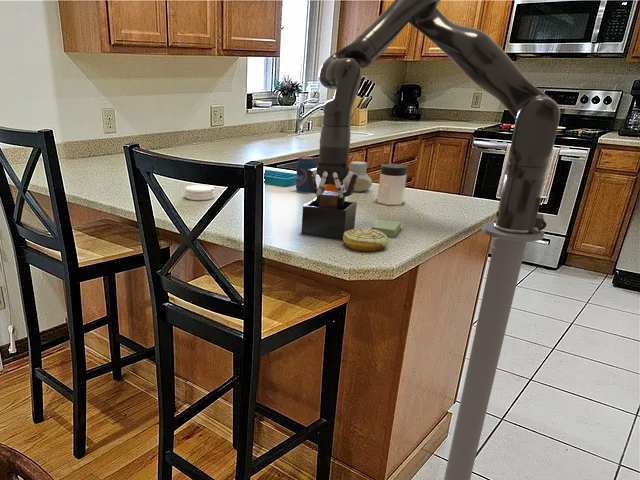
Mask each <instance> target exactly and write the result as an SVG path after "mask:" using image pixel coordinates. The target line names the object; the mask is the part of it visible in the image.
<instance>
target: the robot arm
mask: <svg viewBox="0 0 640 480" xmlns="http://www.w3.org/2000/svg"><path fill="white" fill-rule="evenodd" d="M440 2H441V0H394V1H392V2H391V3H390V5H389V6H388V7H387V8H385V10H384V11H383V12H382V13H381V14H380V15H379V16H378V17H376V19H375V20H374V21H373V22H371V24H370V25H368V26H367V28H365V29H364V30H363V31H362V32H361V33H360V34H359V35H358V36H356V38H354V40H353V41H352V42H351V43H349V44H347V45H346V46H344V47H342V48H340V49H339V50H338V51H336V52H334V53H332V54H331V55H330V56H329V57H328V58H326V59H325V60H324V61H323V63H322V65H321V66H320V68H319V72H318V79H319V82H320V84H321V85H322V86H323V87H324V88H326V89H328V90H335V93H334V96H333V99H330V100H327V101H326V102H325V103H324V105H323V108H322V120H321V121H322V123H321V129H320V130H321V131H320V137H319V154H318V164H317V166H316V169H310V170H308V171H307V177H308V182H309V187H310V192H311V193H312V194H315V195H316V198H317V204H316V206H317V207H319V204H320V194H321V193H323V192H324V190H325V187H326V186H327V184H332V185H336V189H337V191H338V195H339V198H338V207H337V209H340V210H342V209H343V208H344V203H345V201H346V197H350V196H351V195H353V193H354V192H353V190H354V188H355V185H356V183H357V180H358V177H359V173H353V172H351V171H350V167H349V157H350V147H351V146H350V145H351V125H352V123H351V122H352V110H353V107H354V104H355V101H356V98H357V95H358V92H359V89H360V85H361V83H362V76H363V75H362V73H363V72H362V69H365V68H368V67H369V66H371V65H372V64H373V63H374V62H375V61H376V60H377V59H378V58H379V57H380V56H382V54H383V53H385V52H386V51H387V49H389V47H390V46H391V45H392V44H393V42H394V41H395V40H396V38H397V37H398V36H399V35H400V34H401V32H402V31H403V30H404V28H405V27H406V26H407V25H408V24H409V25H411V26H412V27H414V28H415V29H416V30H417V31H419V32H420V33H421V34H423V36H425V37H426V38H428V39H429V40H430V41H431V42H432V43H433V44H434V45H435V46H437V47H438V49H440V50H441V52H443V53H444V54H445V55H446V56H447V57H448V58H449V59H450V60H451V61H452V62H453V63H454V64H455V65H456V66H457V67H458V68H459V70H461V71H462V72H463V74H465V76H466V77H467V78H469V79H470V80H471V81H472V82H473V83H475V84H476V85H477V86H478V87H479V88H480V89H482V90H484V91H485V92H487V93H488V94H489V95H491V96H492V97H494V98H495V99H497V100H498V102H500V103H501V104H502V105H503V106H504V107H505V108H506V109H507V111H509V113H510V114H511V116H513V118H514V119H515V123H514V127H513V132H512V136H511V137H512V138H511V143H510V148H509V153H508V160H507V165H506V169H505V174H504V179H503V182H502V183H503V184H502V188H501V193H500V198H499V203H498V207H497V211H496V214H495V221H494V222H495V224H494V228H495V229H497V230H499V231H502V232H506V233H512V234H533V230H534V228H538V230H539V231H540V230H542V231H543V230H544V229H546V227H547V222H546V221H545V218H544V214H543V213H539V209H540V206H541V205H540V204H541V200H542V193H543V188H544V185H545V180H546V176H547V172H548V168H549V164H550V161H551V156H552V152H553V148H554V144H555V141H556V137H557V133H558V128H559V124H560V119H561V108H560V106H559V104H558V102H556V101H555V99H553V98H551V97H549V95H547V94H546V93H544V92H543V91H541V90H540V89H539V88H538V87H537V86H535V85H534V84H533V83H532V82H530V81H529V80H528V79H527V78H526V77H525V76H524V74H523V73H522V72H521V70H520V69H519V68H518V67H517V66H516V64H515V62H514V61H513V60H512V59H511V58H510V56H509V55H508V54H507V53H506V52H505V51H504V49H503V48H502V47H501V46H500V45H499V44H498V43H497V42H496V41H495V40H494V39H493V38H491V36H490V35H488V34H487V33H486V32H485V31H483V30H480V29H478V28H474V27H472V26H471V27H470V26H466V25H461V24H458V23H455V22H453V21H452V20H450V19H448V18H447V17H446V16H445V15H444V14H443V13H442V12H441V11H440V9H438V5H439V4H440ZM347 175H348V176H349V181H350V183H349V186H348V189H345V188H344V181H343V180H344V179H345V177H346V176H347ZM317 176H319V178H320V182H319V184H317V179H315V177H316V178H317Z"/></svg>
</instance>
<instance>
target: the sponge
mask: <svg viewBox="0 0 640 480" xmlns="http://www.w3.org/2000/svg"><path fill="white" fill-rule="evenodd" d="M401 227H402V221H397V220H390V219H381V218H380V219H378V220H377V222H376V223H374V225H372V227H371V229H373V230H378V231H381V232H382V233H384V234H385V235H386V236H387V238H388V237H389V238H395V237H396V235H397V234H398V233H399V231H400V230H401Z"/></svg>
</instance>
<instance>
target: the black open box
mask: <svg viewBox="0 0 640 480" xmlns="http://www.w3.org/2000/svg"><path fill="white" fill-rule="evenodd" d="M357 203H358V202H357V201H349V200H345V203H344V208H343V209H342V210H340V209H331V208H323V207H317V206H316V204H317V197H314V198H313V199H312V200H310V201H308V202H306V203H304V205H302V216H301V236H309V237H316V238H324V239H331V240H332V239H333V240H337V241H344V240H343V235H344V233H345V232H346V231H348V230H351V229H355V225H356V214H357V205H358V204H357Z"/></svg>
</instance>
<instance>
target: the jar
mask: <svg viewBox="0 0 640 480" xmlns="http://www.w3.org/2000/svg"><path fill="white" fill-rule="evenodd" d="M407 177H408V166H407V164H401V163H383V164H381V168H380V174H379V183H378V191H377V203H379V204H382V205H386V206H401V205H402V204H403V203H404V200H405V194H406V193H405V191H406V184H407Z"/></svg>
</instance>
